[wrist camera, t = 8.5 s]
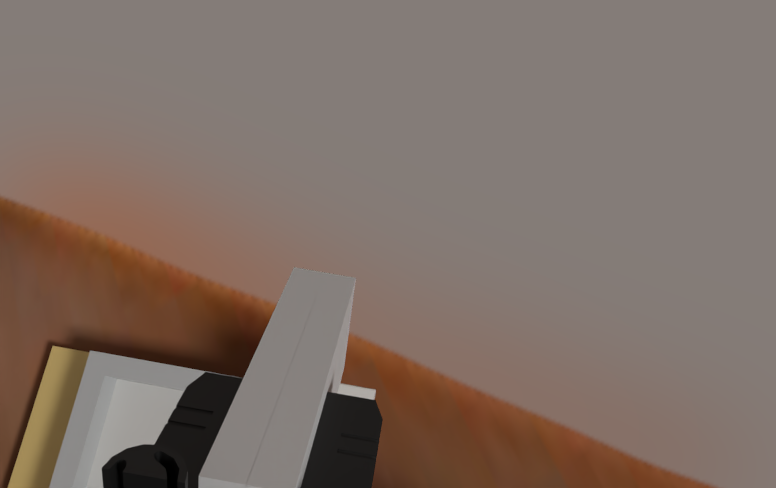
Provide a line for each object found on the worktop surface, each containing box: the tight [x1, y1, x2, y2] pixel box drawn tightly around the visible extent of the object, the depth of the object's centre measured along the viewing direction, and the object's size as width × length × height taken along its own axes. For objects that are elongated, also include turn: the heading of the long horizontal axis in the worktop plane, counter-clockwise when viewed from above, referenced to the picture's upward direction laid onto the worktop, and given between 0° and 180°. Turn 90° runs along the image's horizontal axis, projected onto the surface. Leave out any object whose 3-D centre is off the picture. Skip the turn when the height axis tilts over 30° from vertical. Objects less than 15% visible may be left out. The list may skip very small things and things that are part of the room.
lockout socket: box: [8, 346, 240, 488], centre depth 32 cm, size 10×8×2 cm
